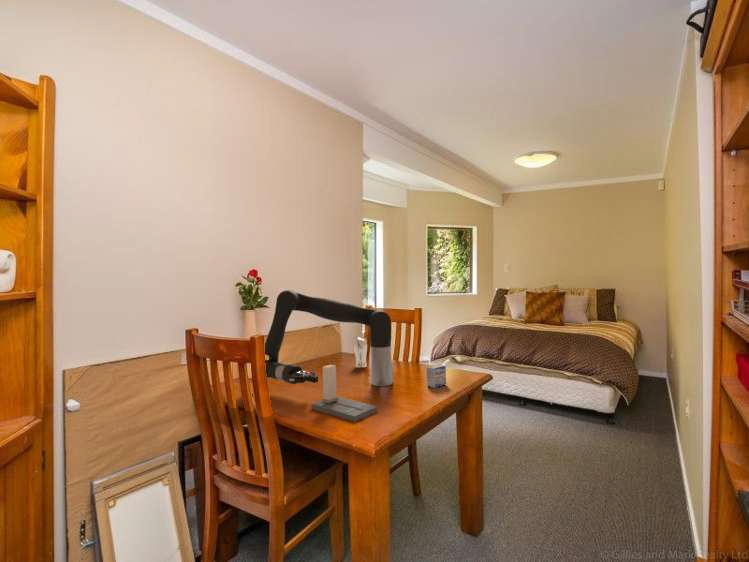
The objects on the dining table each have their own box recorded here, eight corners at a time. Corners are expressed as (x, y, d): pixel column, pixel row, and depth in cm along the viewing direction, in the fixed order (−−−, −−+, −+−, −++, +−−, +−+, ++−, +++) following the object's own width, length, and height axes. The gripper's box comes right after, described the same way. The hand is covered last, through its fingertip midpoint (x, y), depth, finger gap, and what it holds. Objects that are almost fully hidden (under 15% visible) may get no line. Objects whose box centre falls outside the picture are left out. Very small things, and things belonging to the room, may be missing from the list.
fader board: (334, 400, 155) (334, 395, 155) (377, 411, 141) (377, 406, 141) (311, 409, 145) (311, 403, 145) (355, 422, 131) (354, 415, 131)
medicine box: (434, 388, 167) (434, 368, 166) (426, 386, 170) (426, 367, 170) (446, 385, 172) (446, 365, 171) (438, 383, 175) (438, 364, 175)
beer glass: (356, 368, 206) (355, 340, 206) (353, 365, 213) (352, 338, 213) (369, 367, 208) (368, 339, 208) (365, 364, 215) (365, 337, 215)
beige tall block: (331, 397, 151) (330, 364, 150) (338, 399, 148) (337, 365, 148) (321, 401, 147) (320, 366, 146) (329, 403, 144) (328, 368, 144)
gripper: (275, 367, 158) (303, 373, 146) (300, 361, 168) (329, 366, 157) (275, 386, 158) (303, 393, 147) (301, 378, 168) (329, 385, 157)
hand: (316, 379), depth 152 cm, fingers closed
